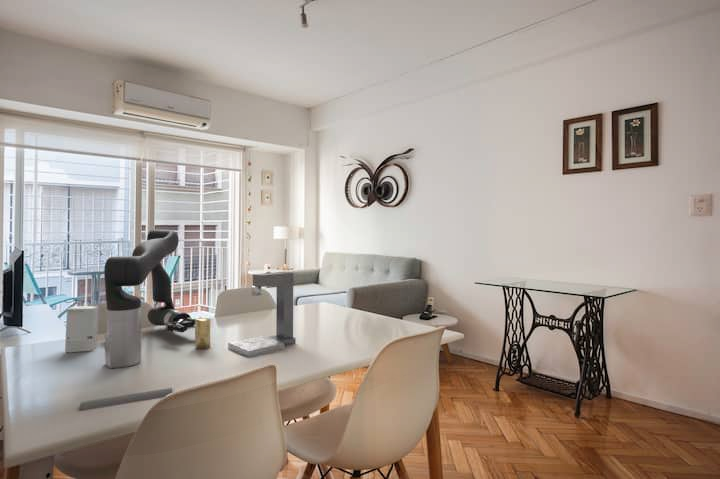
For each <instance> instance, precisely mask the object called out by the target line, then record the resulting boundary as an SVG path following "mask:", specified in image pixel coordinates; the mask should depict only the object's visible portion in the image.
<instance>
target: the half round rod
mask: <svg viewBox="0 0 720 479" xmlns="http://www.w3.org/2000/svg"><path fill="white" fill-rule="evenodd" d="M170 393H172V394H173V387H168V388H162V389H155V390H149V391H143V392H137V393H136V392H135V393H129V394H122V395H118V396H110V397H105V398H97V399H92V400H91V399H90V400H86V401H81V402H80V406H79V408H80V412H81V411H87V410H93V409H94V410H95V409H101V408H106V407H112V406H117V405H118V406H120V405H124V404H129V403H136V402H142V401H143V402H144V401H150V400H155V399H162V398H165V397H164V396H166V395H168V394H170Z"/></svg>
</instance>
